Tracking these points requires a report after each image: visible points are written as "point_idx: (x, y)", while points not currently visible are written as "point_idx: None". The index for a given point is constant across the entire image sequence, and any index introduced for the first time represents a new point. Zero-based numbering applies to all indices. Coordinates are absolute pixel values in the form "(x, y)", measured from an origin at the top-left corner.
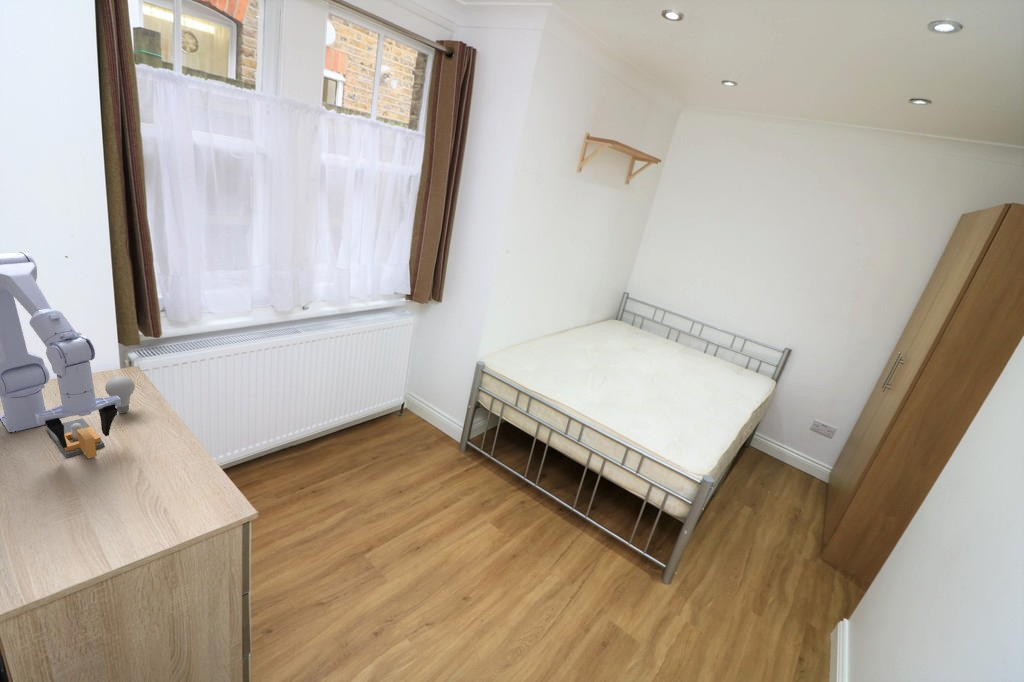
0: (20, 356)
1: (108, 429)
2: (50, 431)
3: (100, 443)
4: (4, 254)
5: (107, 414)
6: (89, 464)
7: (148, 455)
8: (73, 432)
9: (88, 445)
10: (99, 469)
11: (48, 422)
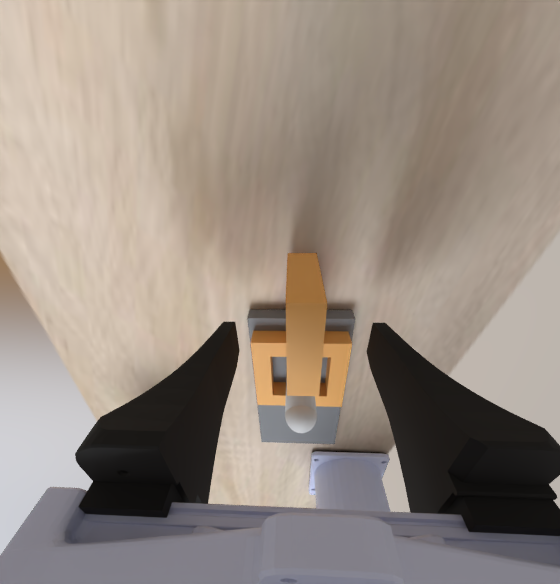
0: None
1: (211, 341)
2: (335, 428)
3: (256, 322)
4: None
5: (153, 433)
6: (318, 228)
7: (121, 151)
8: (312, 397)
9: (313, 281)
10: (305, 163)
11: (546, 513)
